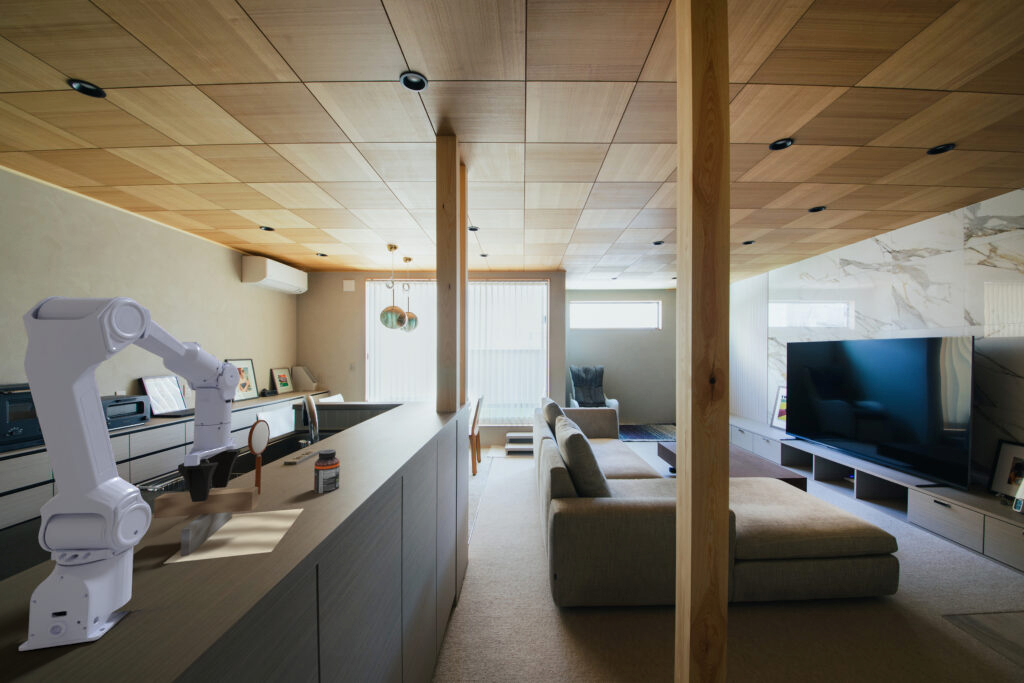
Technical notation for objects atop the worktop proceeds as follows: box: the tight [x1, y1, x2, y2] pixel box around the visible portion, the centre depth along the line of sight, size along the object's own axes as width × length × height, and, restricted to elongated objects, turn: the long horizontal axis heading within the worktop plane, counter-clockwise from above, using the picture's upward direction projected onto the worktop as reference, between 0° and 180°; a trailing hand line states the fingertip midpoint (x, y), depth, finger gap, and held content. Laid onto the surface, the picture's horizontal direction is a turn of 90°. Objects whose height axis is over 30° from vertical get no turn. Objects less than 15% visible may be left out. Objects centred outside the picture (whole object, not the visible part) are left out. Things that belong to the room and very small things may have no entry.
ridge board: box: [163, 508, 304, 565], centre depth 75 cm, size 20×16×6 cm
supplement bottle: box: [313, 449, 340, 494], centre depth 100 cm, size 6×6×11 cm
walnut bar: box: [153, 486, 259, 519], centre depth 74 cm, size 16×3×4 cm, turn 104°
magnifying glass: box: [247, 419, 271, 496], centre depth 97 cm, size 9×2×20 cm, turn 5°
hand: (210, 493), depth 74 cm, fingers open, 7 cm apart
